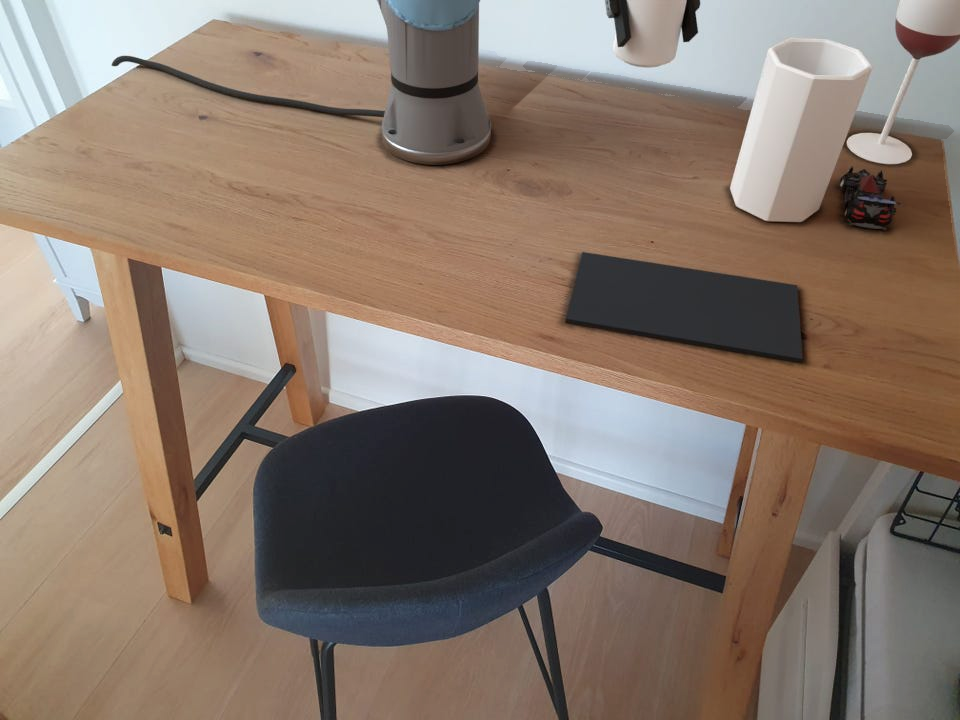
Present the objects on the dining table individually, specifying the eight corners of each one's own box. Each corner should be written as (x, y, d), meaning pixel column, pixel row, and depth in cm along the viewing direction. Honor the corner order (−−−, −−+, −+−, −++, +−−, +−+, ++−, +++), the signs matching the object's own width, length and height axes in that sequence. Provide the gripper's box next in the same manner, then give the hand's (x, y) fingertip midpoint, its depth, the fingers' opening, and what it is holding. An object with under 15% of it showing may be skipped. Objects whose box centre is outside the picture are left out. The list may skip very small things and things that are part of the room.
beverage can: (660, 76, 96) (680, -26, 88) (602, 61, 99) (615, -39, 90) (683, 53, 101) (703, -45, 93) (626, 39, 104) (641, -57, 95)
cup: (824, 188, 100) (877, 46, 87) (812, 233, 93) (868, 86, 80) (738, 168, 103) (777, 29, 90) (720, 211, 96) (759, 66, 83)
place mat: (565, 322, 81) (565, 318, 80) (581, 255, 89) (582, 251, 89) (801, 363, 77) (802, 358, 76) (795, 289, 85) (797, 285, 85)
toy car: (840, 226, 94) (852, 197, 91) (833, 175, 102) (844, 148, 99) (893, 233, 93) (906, 205, 90) (882, 182, 101) (894, 154, 98)
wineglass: (842, 158, 105) (910, -19, 89) (846, 125, 112) (910, -45, 96) (913, 172, 103) (996, -7, 87) (914, 138, 110) (991, -35, 93)
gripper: (698, -126, 100) (721, 46, 100) (544, -121, 97) (568, 58, 97) (725, -166, 93) (750, 21, 93) (560, -162, 89) (586, 32, 90)
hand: (657, 39), depth 95 cm, fingers closed on beverage can, 8 cm apart
